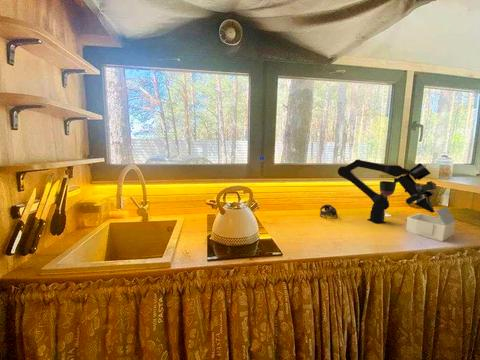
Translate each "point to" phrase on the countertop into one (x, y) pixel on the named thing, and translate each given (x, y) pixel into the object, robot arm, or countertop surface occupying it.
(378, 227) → the countertop surface
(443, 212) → the far flap
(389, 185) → the wineglass
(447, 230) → the carton
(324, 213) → the dark glossy dome
